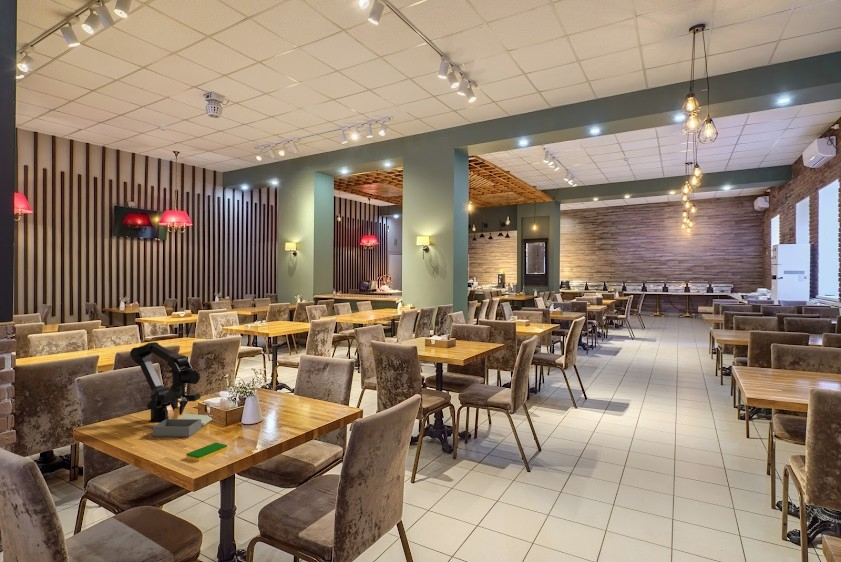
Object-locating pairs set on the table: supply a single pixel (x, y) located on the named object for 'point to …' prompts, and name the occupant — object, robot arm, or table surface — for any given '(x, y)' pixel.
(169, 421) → the tub
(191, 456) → the dish sponge
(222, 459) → the table surface
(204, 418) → the lid
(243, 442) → the table surface
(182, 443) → the table surface
